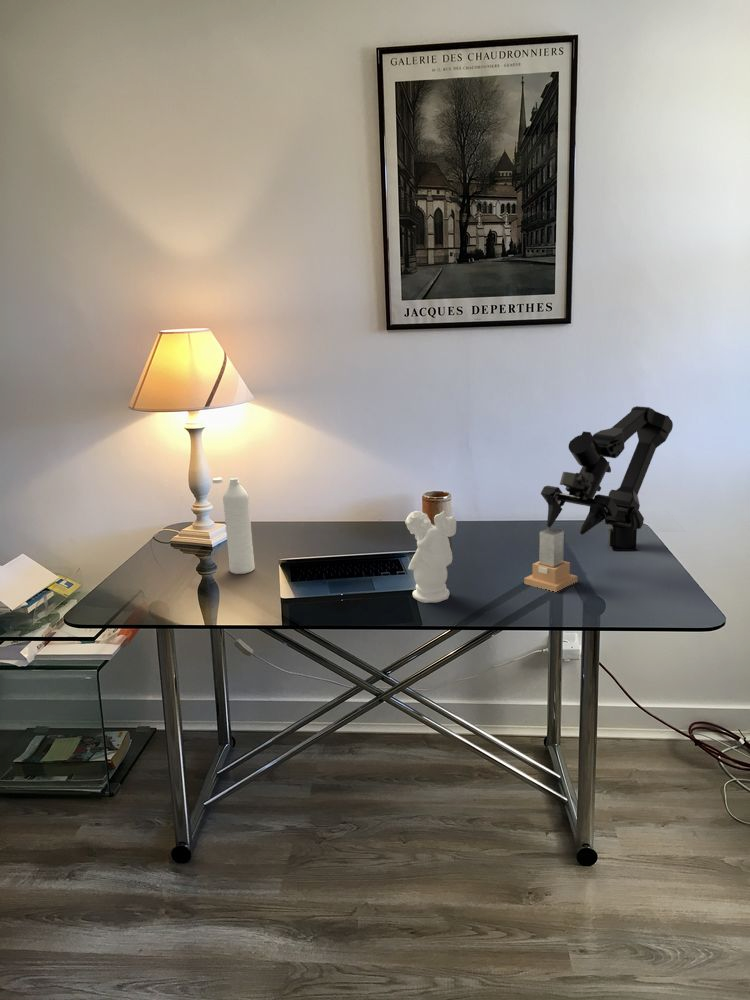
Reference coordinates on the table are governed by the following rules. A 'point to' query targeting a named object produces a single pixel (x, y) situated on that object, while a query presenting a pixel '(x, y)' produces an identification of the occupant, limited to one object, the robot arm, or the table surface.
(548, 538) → the column
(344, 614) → the table surface
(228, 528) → the water bottle
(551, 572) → the stand
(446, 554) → the cherub figurine
